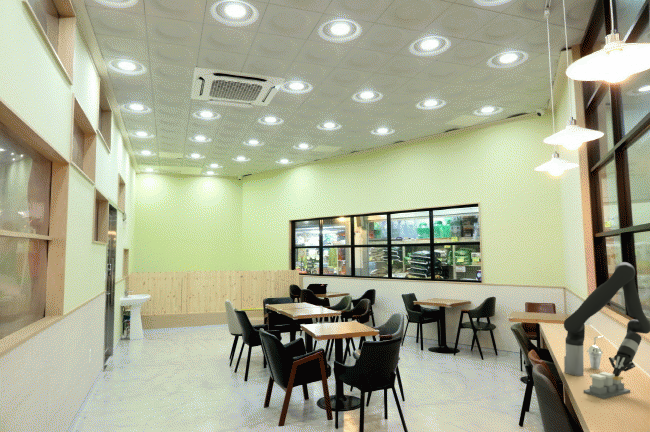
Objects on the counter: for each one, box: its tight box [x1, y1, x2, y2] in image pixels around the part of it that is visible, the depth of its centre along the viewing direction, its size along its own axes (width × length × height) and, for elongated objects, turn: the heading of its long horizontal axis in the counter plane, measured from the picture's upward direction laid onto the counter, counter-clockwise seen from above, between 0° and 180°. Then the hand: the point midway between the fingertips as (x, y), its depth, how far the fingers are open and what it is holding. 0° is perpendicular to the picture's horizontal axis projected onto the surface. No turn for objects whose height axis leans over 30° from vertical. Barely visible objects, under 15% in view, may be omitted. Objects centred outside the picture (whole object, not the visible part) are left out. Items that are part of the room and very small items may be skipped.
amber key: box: [613, 375, 624, 384], centre depth 229 cm, size 5×5×6 cm
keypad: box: [583, 382, 631, 400], centre depth 225 cm, size 24×10×4 cm, turn 118°
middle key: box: [598, 371, 615, 386], centre depth 225 cm, size 5×5×6 cm
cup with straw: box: [586, 335, 605, 370], centre depth 271 cm, size 8×9×20 cm
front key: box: [589, 373, 606, 388], centre depth 222 cm, size 5×5×6 cm
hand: (615, 375), depth 229 cm, fingers closed
